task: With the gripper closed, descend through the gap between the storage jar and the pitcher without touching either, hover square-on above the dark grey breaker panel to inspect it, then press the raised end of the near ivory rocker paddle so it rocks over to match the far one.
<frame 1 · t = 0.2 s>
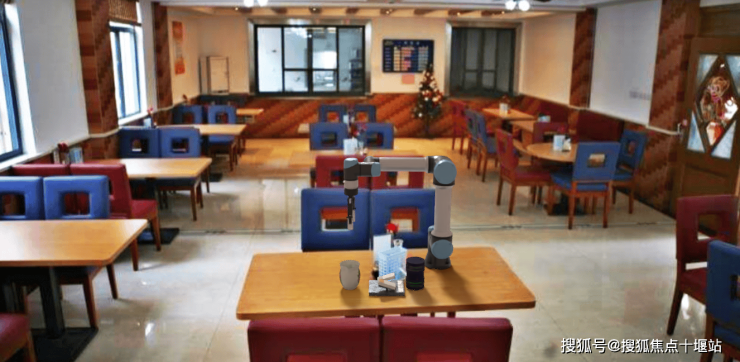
hand: (351, 225, 309), 28 cm above the table, fingers open, 13 cm apart
paddle far: (386, 277, 298), point 5 cm above the table, hinge at 18.0°
pitcher: (350, 286, 300), on the table
storage jar: (414, 287, 299), on the table
breaker panel: (386, 289, 296), on the table
paddle near: (386, 283, 291), point 5 cm above the table, hinge at -18.0°
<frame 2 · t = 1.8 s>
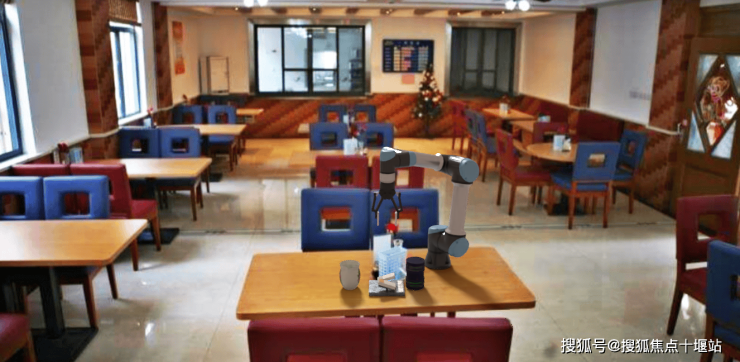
hand: (386, 224, 287), 35 cm above the table, fingers open, 8 cm apart
nothing on the table moved.
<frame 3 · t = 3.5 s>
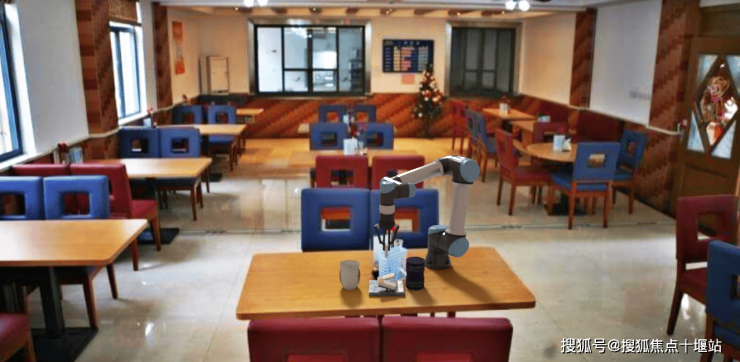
hand: (386, 256, 291), 18 cm above the table, fingers closed
nothing on the table moved.
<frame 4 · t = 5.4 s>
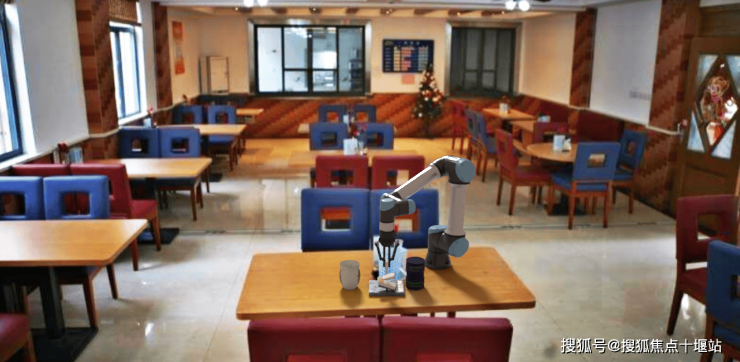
hand: (386, 272, 293), 9 cm above the table, fingers closed
nothing on the table moved.
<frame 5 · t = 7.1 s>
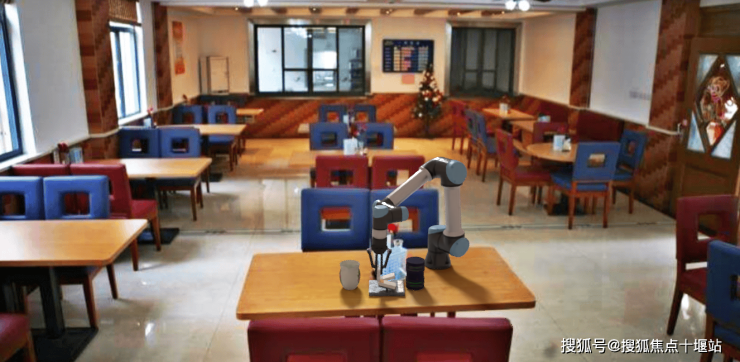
hand: (378, 280, 290), 7 cm above the table, fingers closed
paddle near: (386, 283, 291), point 5 cm above the table, hinge at -14.4°, touching gripper
everything else where it was.
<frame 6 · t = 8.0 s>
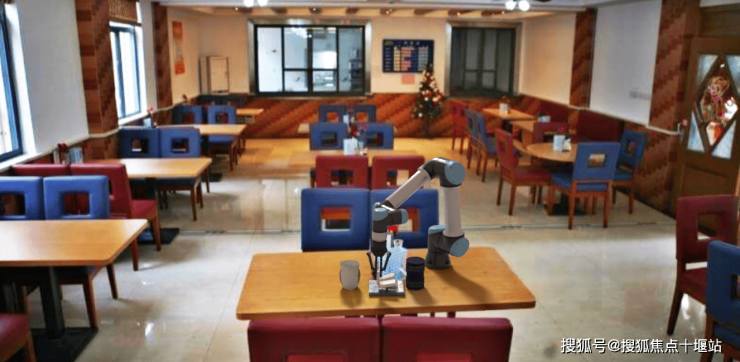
hand: (377, 282, 291), 6 cm above the table, fingers closed
paddle near: (386, 283, 291), point 5 cm above the table, hinge at 9.6°, touching gripper
everything else where it was.
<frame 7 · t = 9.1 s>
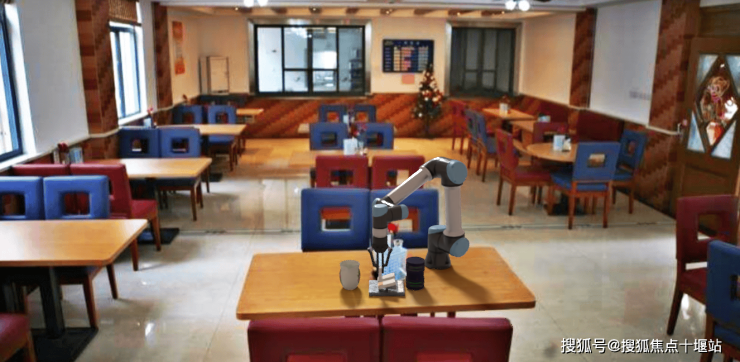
hand: (380, 279, 290), 8 cm above the table, fingers closed
paddle near: (386, 283, 291), point 5 cm above the table, hinge at 15.9°
everything else where it was.
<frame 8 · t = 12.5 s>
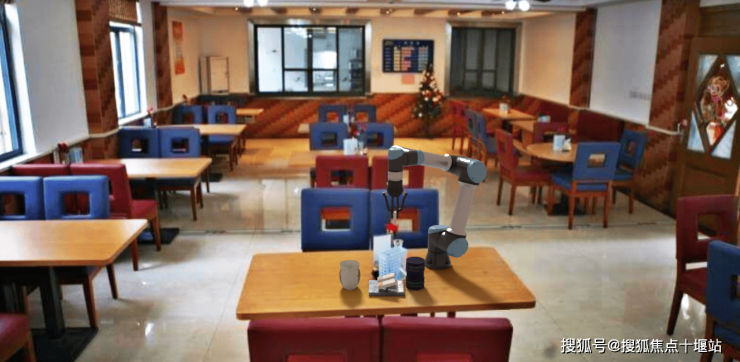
hand: (394, 224, 291), 34 cm above the table, fingers closed
paddle near: (386, 283, 291), point 5 cm above the table, hinge at 16.9°
everything else where it was.
at the end: paddle near at +17° (first picture: -18°); paddle far at +18° (first picture: +18°); storage jar moved 0.2 cm from its start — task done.
